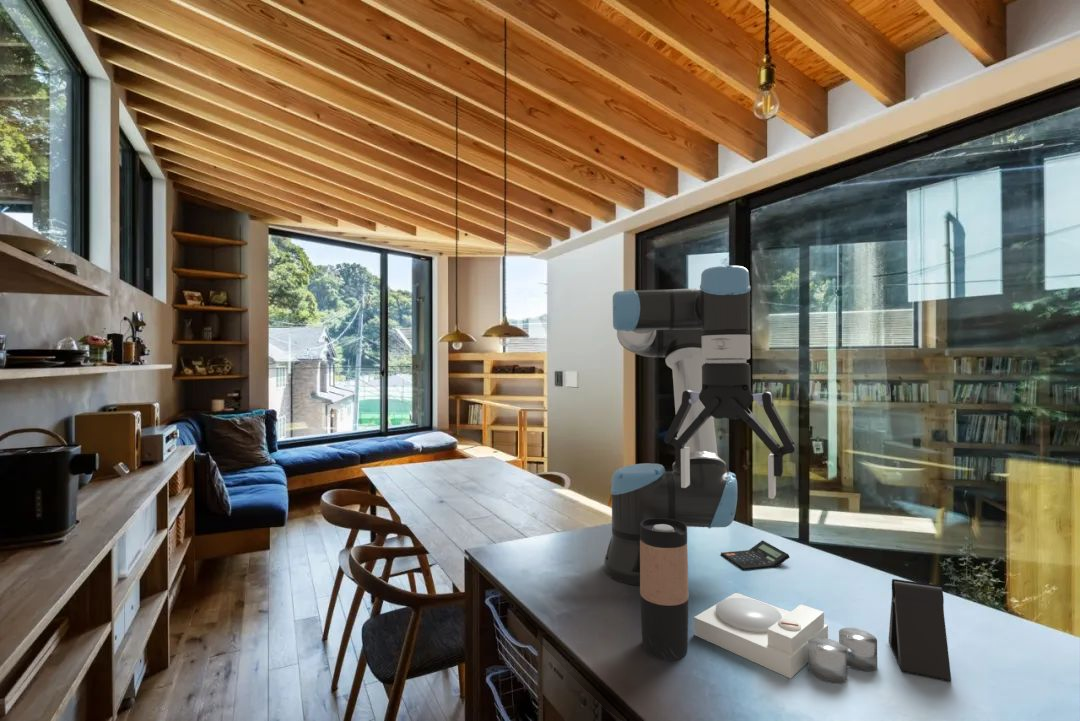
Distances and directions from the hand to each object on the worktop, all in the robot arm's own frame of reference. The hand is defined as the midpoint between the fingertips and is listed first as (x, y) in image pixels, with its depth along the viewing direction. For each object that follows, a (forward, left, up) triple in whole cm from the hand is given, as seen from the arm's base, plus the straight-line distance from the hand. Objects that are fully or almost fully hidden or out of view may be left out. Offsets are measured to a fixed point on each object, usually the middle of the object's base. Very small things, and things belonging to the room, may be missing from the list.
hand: (727, 491), depth 84 cm
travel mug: (-6, -9, -25) cm, 28 cm away
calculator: (-14, +37, -26) cm, 48 cm away
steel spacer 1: (+14, +4, -25) cm, 29 cm away
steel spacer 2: (+16, +10, -25) cm, 31 cm away
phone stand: (+22, +17, -25) cm, 38 cm away
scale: (+3, +5, -25) cm, 26 cm away
